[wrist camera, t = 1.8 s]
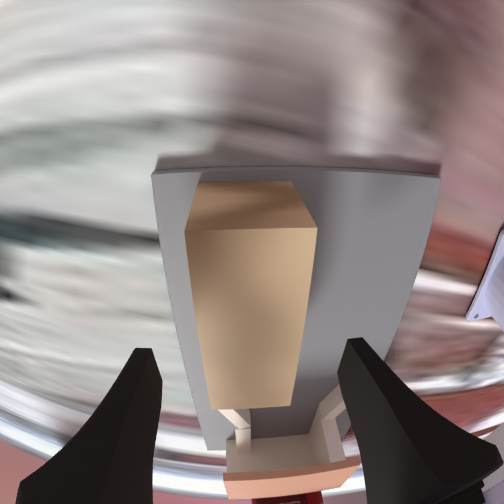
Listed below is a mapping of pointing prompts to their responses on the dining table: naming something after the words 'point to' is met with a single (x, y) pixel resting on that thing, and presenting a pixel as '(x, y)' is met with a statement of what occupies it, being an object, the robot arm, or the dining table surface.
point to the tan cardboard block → (250, 288)
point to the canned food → (292, 499)
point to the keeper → (317, 316)
